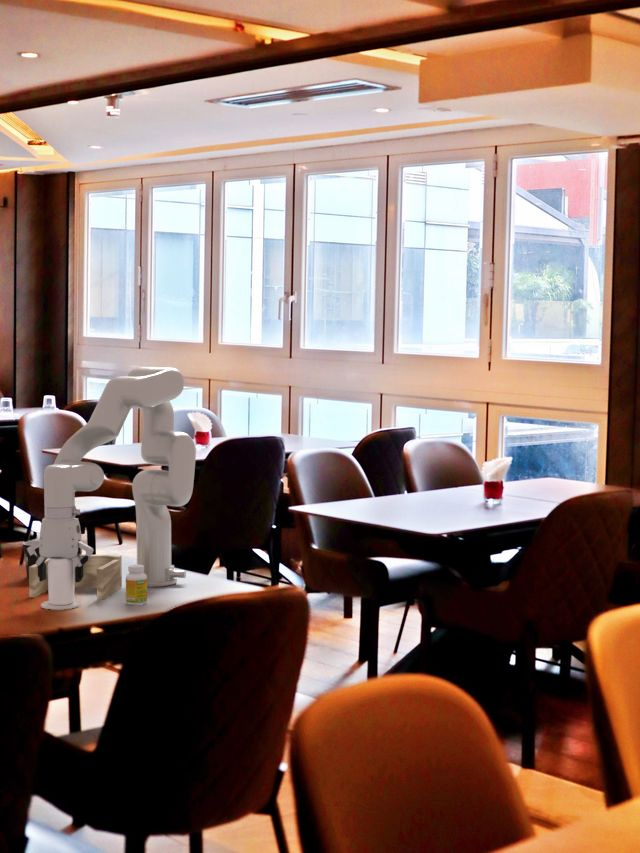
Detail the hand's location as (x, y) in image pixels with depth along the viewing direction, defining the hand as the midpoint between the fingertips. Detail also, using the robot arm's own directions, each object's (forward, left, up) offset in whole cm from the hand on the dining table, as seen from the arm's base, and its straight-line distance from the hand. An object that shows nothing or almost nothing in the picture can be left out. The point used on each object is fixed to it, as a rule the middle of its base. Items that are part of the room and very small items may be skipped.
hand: (60, 580), depth 308 cm
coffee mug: (+20, -36, -7) cm, 42 cm away
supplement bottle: (-18, -6, -7) cm, 20 cm away
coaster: (0, 0, -6) cm, 6 cm away
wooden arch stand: (+2, -16, -6) cm, 17 cm away
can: (0, 0, -6) cm, 6 cm away
